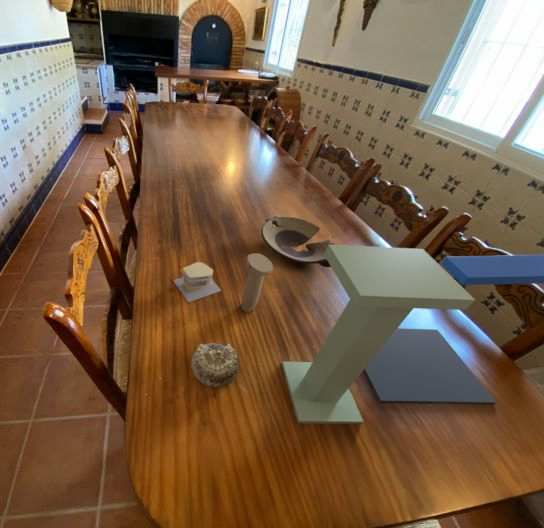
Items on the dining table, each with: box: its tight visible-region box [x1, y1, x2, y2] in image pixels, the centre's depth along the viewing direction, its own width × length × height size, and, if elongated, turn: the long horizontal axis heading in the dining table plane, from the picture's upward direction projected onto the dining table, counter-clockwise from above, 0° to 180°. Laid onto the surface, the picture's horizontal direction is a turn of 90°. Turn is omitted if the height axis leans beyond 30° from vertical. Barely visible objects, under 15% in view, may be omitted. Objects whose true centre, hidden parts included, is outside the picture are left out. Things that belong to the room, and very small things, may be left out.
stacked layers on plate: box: [172, 261, 222, 303], centre depth 78 cm, size 10×9×6 cm
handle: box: [241, 252, 274, 313], centre depth 70 cm, size 5×6×15 cm
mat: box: [363, 327, 497, 405], centre depth 65 cm, size 24×18×1 cm
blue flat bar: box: [441, 254, 544, 286], centre depth 41 cm, size 22×4×1 cm, turn 90°
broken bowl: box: [260, 215, 335, 268], centre depth 91 cm, size 22×30×8 cm
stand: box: [281, 244, 476, 425], centre depth 48 cm, size 14×12×32 cm
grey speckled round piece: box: [190, 342, 240, 389], centre depth 60 cm, size 10×10×5 cm
